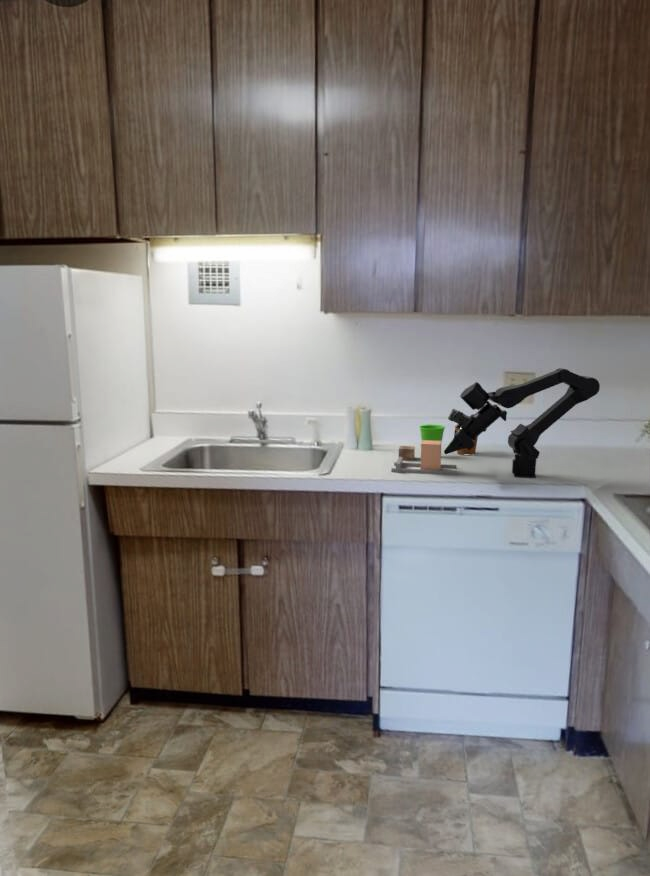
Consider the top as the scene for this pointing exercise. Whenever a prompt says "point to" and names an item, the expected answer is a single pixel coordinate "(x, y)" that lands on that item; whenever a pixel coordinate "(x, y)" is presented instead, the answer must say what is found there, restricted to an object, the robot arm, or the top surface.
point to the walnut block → (407, 452)
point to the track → (400, 464)
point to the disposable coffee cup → (465, 450)
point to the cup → (432, 432)
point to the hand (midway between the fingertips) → (444, 452)
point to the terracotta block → (430, 455)
